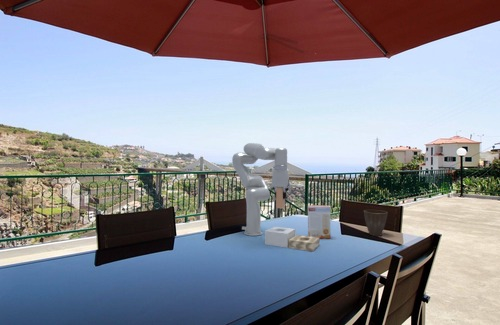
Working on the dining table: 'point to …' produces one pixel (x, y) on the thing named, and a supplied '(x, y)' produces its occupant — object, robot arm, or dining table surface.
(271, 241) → the upper socket
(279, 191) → the plug
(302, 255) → the dining table surface
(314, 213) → the cracker box
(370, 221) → the plant pot
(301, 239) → the lower socket
